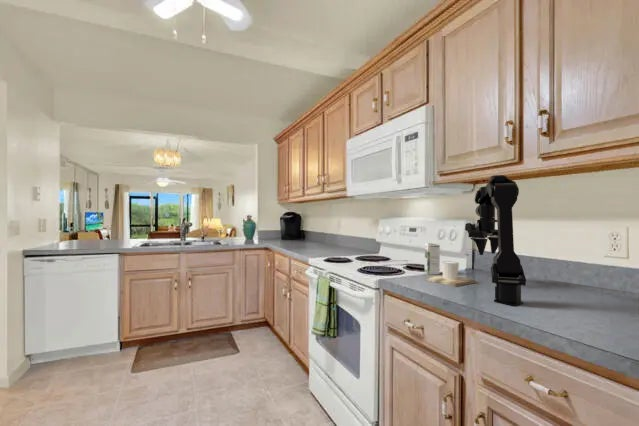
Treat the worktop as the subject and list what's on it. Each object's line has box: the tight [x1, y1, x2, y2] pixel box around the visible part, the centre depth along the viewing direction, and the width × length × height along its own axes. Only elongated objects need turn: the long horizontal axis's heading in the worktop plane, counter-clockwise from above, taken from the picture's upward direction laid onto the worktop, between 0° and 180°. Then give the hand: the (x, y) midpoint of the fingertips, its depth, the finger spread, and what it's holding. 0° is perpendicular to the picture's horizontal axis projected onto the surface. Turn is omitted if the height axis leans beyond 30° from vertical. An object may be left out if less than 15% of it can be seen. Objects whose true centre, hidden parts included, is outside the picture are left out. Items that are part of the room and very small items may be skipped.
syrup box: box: [424, 242, 441, 275], centre depth 153 cm, size 6×6×14 cm
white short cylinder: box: [441, 260, 460, 280], centre depth 135 cm, size 7×7×7 cm
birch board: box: [425, 274, 476, 288], centre depth 135 cm, size 14×14×1 cm
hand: (487, 254), depth 133 cm, fingers open, 9 cm apart
